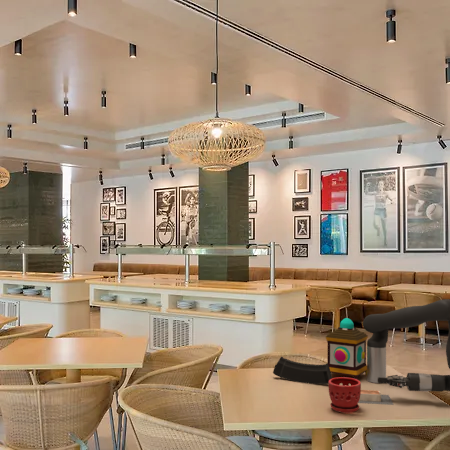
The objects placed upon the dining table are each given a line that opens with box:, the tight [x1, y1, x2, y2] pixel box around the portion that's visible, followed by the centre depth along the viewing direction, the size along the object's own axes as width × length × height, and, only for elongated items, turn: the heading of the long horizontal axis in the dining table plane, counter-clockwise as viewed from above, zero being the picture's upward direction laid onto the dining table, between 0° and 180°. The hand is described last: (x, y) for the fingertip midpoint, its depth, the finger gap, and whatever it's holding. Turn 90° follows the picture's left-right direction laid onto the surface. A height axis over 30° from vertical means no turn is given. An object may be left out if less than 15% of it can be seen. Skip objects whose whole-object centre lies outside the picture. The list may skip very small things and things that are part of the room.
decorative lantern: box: [325, 317, 369, 380], centre depth 282 cm, size 20×20×30 cm
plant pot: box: [327, 376, 362, 414], centre depth 225 cm, size 13×13×12 cm
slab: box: [359, 389, 382, 402], centre depth 239 cm, size 6×3×18 cm
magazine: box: [272, 356, 333, 385], centre depth 269 cm, size 17×3×30 cm
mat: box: [358, 394, 394, 406], centre depth 240 cm, size 15×22×1 cm
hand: (377, 380), depth 238 cm, fingers closed
